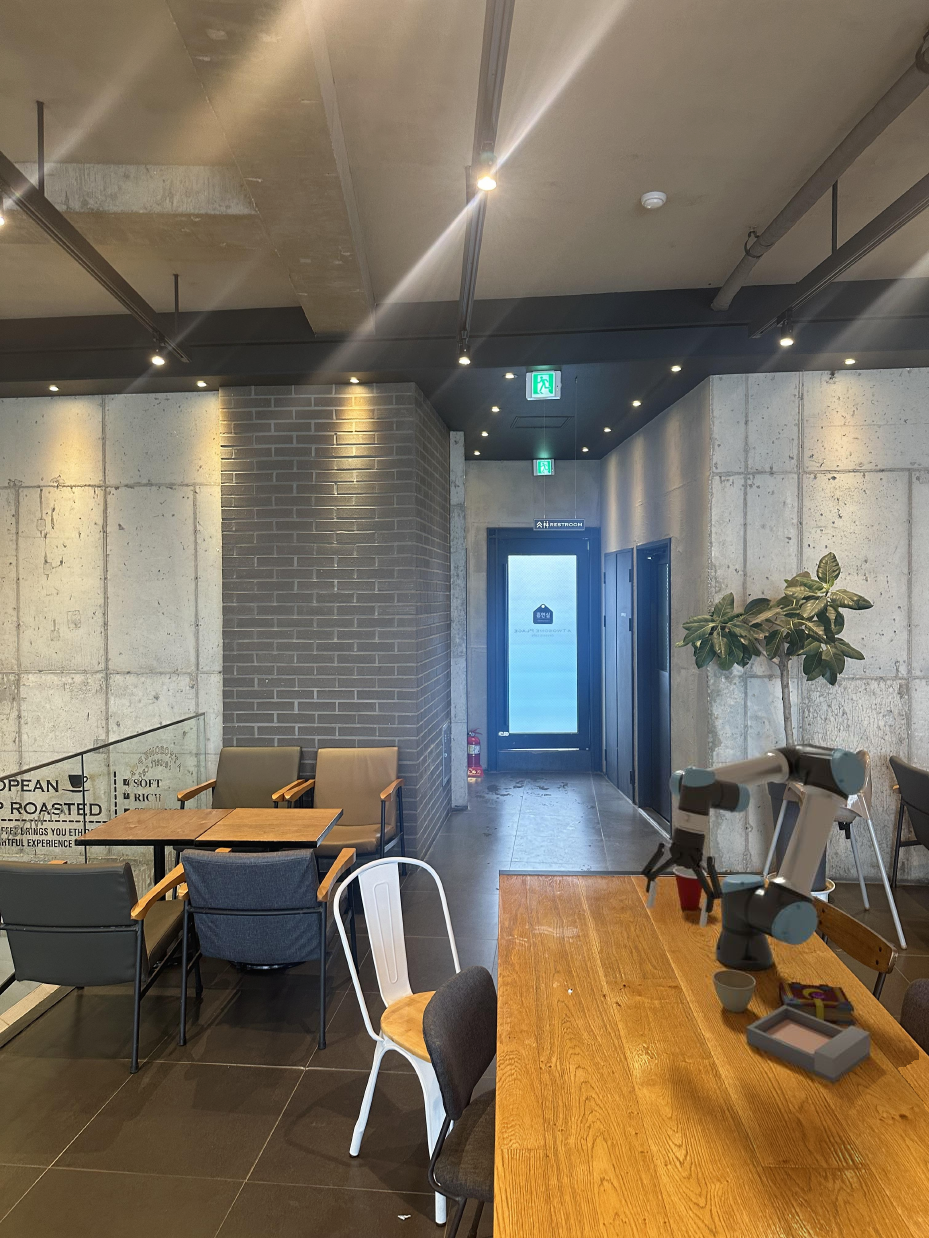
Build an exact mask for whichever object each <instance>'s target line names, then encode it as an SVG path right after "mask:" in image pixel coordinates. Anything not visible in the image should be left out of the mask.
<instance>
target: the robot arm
mask: <svg viewBox="0 0 929 1238" xmlns="http://www.w3.org/2000/svg"><path fill="white" fill-rule="evenodd" d="M863 764H864V763H863V761H862V759H861V758H860V757H859V756H858V755H857V754H856V753H855V752H853V751H850V750H846V749H843V748H840V747H839V748H838V747H837V748H836V747H828V746H823V745H817V744H816V745H815V744H812V743H796V744H793V745H792V744H791V745H785V746H781V747H778V748H773V749H769V750H766V751H765V752H764V753H763V755H760V756H755V757H750V758H748V759H743V760H737V761H733V762H731V763H726V764H721V765H717V766H713V767H709V768H700V767H696V766H692V765H690V766H687V767H686V768H685V769H684V770H680V769H679V770H676V771H675V772H673V773H672V774H671V776H670V778H669V790H670V793H672V794H671V795H673V796H674V797H677V798H679V799H678V801H679V802H678V807H677V812H676V817H675V825H676V826H677V827H674V829H673V836H672V842H671V845H670V844H668V843H667V842H664V841H663V842H659V843H658V846H657V850H656V851H655V853H654V854H653V855H652V857H651V858H650V859H649V861H648V862H647V863H646V865H645V866H644V868H643V869H642V870H641V872H640V873H641V875H642V876H644V877H645V878H646V879H647V881H646V888H645V892H646V893H647V894H648V896H647V897H648V898H647V903H646V908H647V909H653V908H654V907H655V902H656V901H655V900H656V895H657V888H658V884H659V883H658V882H659V881H657V878H658V877H660V876H661V875H662V874H664V873H665V872H666V871H667V870H669V869H670V868H671V867H673V866H674V865H675V866H676V867H684V868H686V869H692V870H693V872H694V873H695V875H696V877H697V879H698V880H699V882H700V884H701V886H702V891H703V892H704V894H705V897H704V898H703V900H702V905H701V912H700V917H699V918H700V919H699V924H698V925H699V926H700V927H705V926H707V922H708V915H709V914H712V913H713V909H714V904H715V900H720V907H721V930H720V934H719V937H718V939H717V942H716V946H715V958H716V959H717V961H718V962H720V963H721V964H723V965H725V966H727V967H730V968H733V969H737V970H741V971H763V970H766V969H769V968H770V967H771V966H773V963H774V962H773V961H774V957H773V955H774V954H773V952H772V949H771V946H770V943H769V941H768V937H767V936H769V937H771V938H772V939H775V940H777V941H779V942H781V943H785V944H788V945H791V946H798V945H802V944H803V943H806V942H807V941H808V940H809V939H811V937H812V936H813V934H814V933H815V931H816V928H817V927H818V921H819V918H818V917H817V916H818V913H817V909H816V907H814V903H815V902H814V901H815V898H814V896H813V894H812V887H813V884H814V881H815V878H816V876H817V873H818V870H819V866H820V864H821V860H822V859H823V856H824V855H823V854H824V852H825V849H826V846H827V843H828V839H829V836H830V834H831V831H832V828H833V825H834V822H835V819H836V817H837V813H838V811H839V808H840V807H841V806H844V805H847V803H848V800H849V797H850V796H854V795H855V796H856V795H857V794H859V793H860V792H861V791H862V789H864V785H865V779H866V772H865V767H864V765H863ZM770 782H773V783H775V784H782V783H788V782H789V783H796V784H802V789H803V791H804V793H805V796H804V799H803V802H802V805H801V808H800V812H799V814H798V817H797V820H796V823H795V825H794V829H793V831H792V834H791V837H790V840H789V842H788V845H787V849H786V852H785V854H784V856H783V859H782V862H781V865H780V869H779V872H778V874H777V876H776V877H774V878H772V879H769V881H768V884H767V886H766V882H765V879H764V877H763V876H761V875H756V874H750V873H749V874H746V873H745V874H744V873H743V874H742V873H739V874H732V875H728V876H725V877H723V879H722V881H721V883H720V880H719V875H718V873H717V869H716V857H715V856H714V855H704V852H703V851H704V847H705V840H706V835H705V832H707V829H708V822H709V816H710V811H711V810H718V811H723V812H729V813H732V814H733V813H739V814H740V813H743V812H745V811H746V810H747V809H748V808H749V806H750V801H751V794H750V793H751V792H750V791H749V789H748V788H752V787H754V786H758V785H763V784H767V783H770ZM667 852H669V854H670V855H671V857H669V858H668V859H666V861H665V862H663V864H660V866H658V867H657V868H656V869H654V868H655V867H656V866H657V864H658V863H659V862H660V860H661V859H662V858H663V856H664V854H665V853H667ZM702 861H704V864H705V865H706V868H707V873H708V877H709V879H710V882H709V880H708V879H707V876H706V877H705V875H704V873H703V871H704V870H703V868H702V866H701V864H700V863H702ZM710 883H711V885H710Z"/></svg>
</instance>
